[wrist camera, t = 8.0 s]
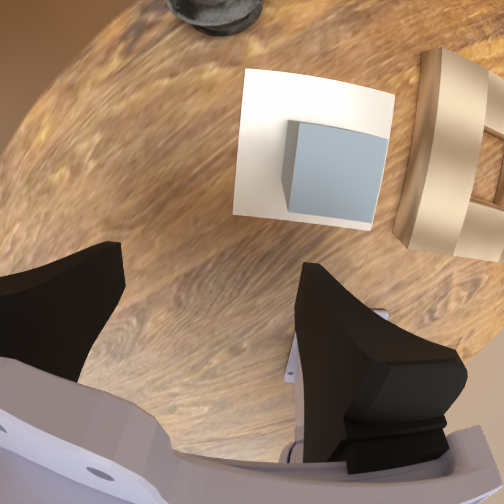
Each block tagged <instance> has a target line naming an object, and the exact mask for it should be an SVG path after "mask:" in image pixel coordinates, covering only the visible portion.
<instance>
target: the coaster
mask: <svg viewBox="0 0 504 504" xmlns="http://www.w3.org/2000/svg"><path fill="white" fill-rule="evenodd" d="M394 101H395V95H393V94H390V93H386V92H383V91H379V90H375V89H371V88H367V87H363V86H359V85H354V84H350V83H345V82H340V81H335V80H330V79H325V78H319V77H313V76H307V75H300V74H293V73H286V72H277V71H268V70H257V69H246V70H245V79H244V89H243V99H242V109H241V120H240V131H239V142H238V153H237V165H236V176H235V189H234V201H233V214H232V215H242V216H251V217H261V218H270V219H279V220H288V221H297V222H305V223H313V224H321V225H329V226H337V227H345V228H352V229H360V230H367V231H371V227H372V223H373V219H374V215H373V219H372V223H366V222H360V221H352V220H345V219H338V218H331V217H323V216H315V215H307V214H299V213H291V212H288V210H287V205H286V200H285V196H284V191H283V186H282V181H281V175H282V167H283V159H284V150H285V142H286V133H287V125H288V120H295V121H302V122H309V123H315V124H321V125H327V126H333V127H338V128H344V129H349V130H353V131H357V132H362V133H366V134H370V135H374V136H378V137H382V138H385V139H388V143H389V137H390V131H391V124H392V117H393V109H394ZM387 149H388V144H387ZM386 155H387V150H386ZM385 161H386V156H385ZM384 166H385V162H384ZM383 172H384V167H383ZM382 177H383V173H382ZM381 182H382V178H381ZM380 187H381V183H380ZM379 192H380V188H379ZM378 196H379V193H378ZM377 201H378V197H377ZM376 206H377V202H376ZM376 206H375V210H376ZM374 214H375V211H374Z"/></svg>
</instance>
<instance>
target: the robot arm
mask: <svg viewBox="0 0 504 504" xmlns="http://www.w3.org/2000/svg"><path fill="white" fill-rule="evenodd" d="M125 287H126V285H125V277H124V269H123V260H122V251H121V243H120V242H111V241H106V242H102V243H99V244H96V245H94V246H91V247H88V248H86V249H84V250H81V251H79V252H76V253H74V254H72V255H69V256H67V257H64V258H62V259H59V260H57V261H54V262H52V263H49V264H47V265H44V266H41V267H38V268H35V269H31V270H28V271H25V272H20V273H16V274H12V275H7V276H3V277H0V504H478V503H480V502H481V501H483V500H484V499H486V498H487V497H489V496H490V495H492V494H493V493H495V492H496V491H498V490H499V489H500V488H502V486H503V483H502V479H501V477H500V474H499V471H498V468H497V465H496V463H495V460H494V458H493V455H492V452H491V450H490V448H489V445H488V443H487V440H486V438H485V435H484V433H483V431H482V429H481V426H480V425H477V426H473V427H470V428H466V429H463V430H459V431H455V432H453V433H451V434H449V435H447V436H446V437H445V434H444V431H443V429H442V428H445V426H446V425H447V421H446V419H445V416H444V414H445V412H446V411H447V410H448V409H449V408H450V406H451V405H452V404H453V403H454V401H455V400H456V399H457V398H458V396H459V395H460V393H461V392H462V390H463V388H464V387H465V384H466V381H467V378H468V375H467V370H466V368H465V366H464V364H463V362H462V360H461V359H460V357H459V355H458V353H457V352H456V350H454V349H451V348H448V347H445V346H442V345H439V344H436V343H433V342H430V341H428V340H425V339H423V338H421V337H418V336H416V335H414V334H412V333H410V332H408V331H405V330H403V329H402V328H400V327H398V326H396V325H394V324H393V323H391V322H389V321H387V320H388V318H389V314H388V312H387V311H385V310H371V309H369V308H368V307H367V306H365V305H364V304H363V303H362V302H360V301H359V300H358V299H357V298H356V297H354V296H353V295H352V294H351V293H350V292H349V291H348V290H346V289H345V288H344V287H343V286H342V285H341V284H340V283H339V282H338V281H337V280H336V279H335V278H334V277H333V276H332V275H331V274H330V273H329V272H328V271H327V270H326V269H325V268H324V267H322V266H321V265H320V264H317V263H307V262H303V267H302V272H301V277H300V282H299V287H298V292H297V297H296V302H295V306H294V308H295V334H294V339H293V343H292V347H291V351H290V355H289V359H288V363H287V367H286V371H285V374H284V381H285V382H287V383H294V394H295V410H296V426H297V428H295V442H292V443H289V444H288V445H286V446H285V447H284V449H283V451H282V453H281V455H280V459H279V461H278V463H271V462H253V461H240V460H230V459H221V458H213V457H206V456H199V455H193V454H187V453H181V452H178V451H175V450H173V449H172V446H171V442H170V438H169V436H168V434H167V433H166V432H165V430H164V429H163V428H162V426H161V425H160V424H159V422H158V421H157V420H156V418H155V417H154V416H152V415H151V414H149V413H148V412H146V411H145V410H143V409H142V408H140V407H139V406H137V405H136V404H134V403H133V402H130V401H128V400H125V399H123V398H120V397H118V396H115V395H113V394H111V393H108V392H105V391H102V390H98V389H95V388H91V387H88V386H85V385H82V384H79V383H77V381H78V378H79V376H80V373H81V370H82V368H83V365H84V363H85V360H86V358H87V356H88V353H89V351H90V349H91V347H92V345H93V344H94V342H95V340H96V339H97V337H98V335H99V334H100V332H101V330H102V329H103V327H104V326H105V324H106V322H107V321H108V319H109V318H110V316H111V314H112V313H113V311H114V310H115V308H116V306H117V305H118V302H119V300H120V298H121V296H122V294H123V291H124V289H125Z"/></svg>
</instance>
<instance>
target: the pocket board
mask: <svg viewBox="0 0 504 504" xmlns="http://www.w3.org/2000/svg"><path fill="white" fill-rule="evenodd" d="M483 131H485V132H487V133H489V134H491V135H493V136H496V137H498V138H500V139H502V140H504V79H502V78H501V77H499V76H497V75H496V74H494V73H492V72H491V71H489V70H487V69H485V68H484V67H482V66H480V65H478V64H476V63H474V62H472V61H470V60H468V59H466V58H464V57H462V56H460V55H458V54H456V53H454V52H452V51H450V50H448V49H445V48H443V47H441V48H437V49H433V50H430V51H426V52H423V53H422V55H421V70H420V82H419V92H418V102H417V110H416V117H415V125H414V131H413V138H412V144H411V150H410V155H409V161H408V166H407V171H406V176H405V181H404V186H403V190H402V195H401V199H400V203H399V208H398V212H397V216H396V220H395V224H394V227H393V231H392V233H393V234H394V235H395V236H396V237H397V238H398V239H399V240H400V241H401V243H402V244H403V245H404V246H405V247H406V248H407V249H409V250H417V251H424V252H431V253H438V254H446V255H453V256H460V257H466V258H473V259H480V260H487V261H493V262H500V263H504V158H503V164H502V169H501V174H500V178H499V183H498V187H497V191H496V195H495V199H494V203H492V202H489V201H486V200H483V199H479V198H476V197H473V196H471V193H472V188H473V184H474V180H475V175H476V170H477V166H478V160H479V155H480V149H481V143H482V137H483Z"/></svg>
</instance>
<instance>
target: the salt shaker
mask: <svg viewBox="0 0 504 504" xmlns="http://www.w3.org/2000/svg"><path fill="white" fill-rule="evenodd" d="M166 4H167V5H168V7H169V9H170V11H171V12H172V13H173V14H175V15H176V16H177V17H178V18H179V19H181V20H183V21H185V22H187V23H189V24H191V25H192V26H193V27H194V28H195V29H196V30H198V31H200V32H202V33H204V34H208V35H212V36H227V35H232V34H236V33H238V32H241V31H243V30H245V29H247V28H248V27H249V26H251V25H252V24H253V23H254V22H255V21H256V20H257V18H258V17H259V15H260V13H261V11H262V9H263V0H166Z"/></svg>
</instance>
